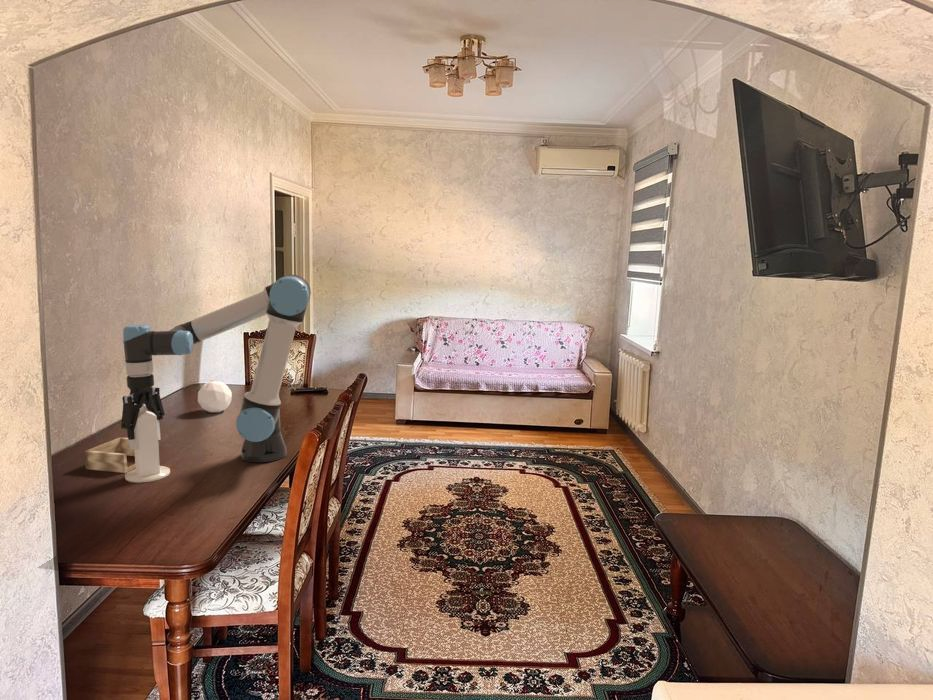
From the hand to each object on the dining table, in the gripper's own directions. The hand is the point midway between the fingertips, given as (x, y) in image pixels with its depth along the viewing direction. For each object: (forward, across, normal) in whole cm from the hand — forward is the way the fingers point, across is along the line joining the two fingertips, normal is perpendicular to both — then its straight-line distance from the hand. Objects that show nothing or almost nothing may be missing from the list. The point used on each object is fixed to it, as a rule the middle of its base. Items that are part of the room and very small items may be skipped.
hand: (145, 444), depth 207 cm
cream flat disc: (+10, 0, 0) cm, 10 cm away
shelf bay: (+10, -8, -16) cm, 21 cm away
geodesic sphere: (+11, -74, -25) cm, 79 cm away
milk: (+10, 0, 0) cm, 10 cm away
